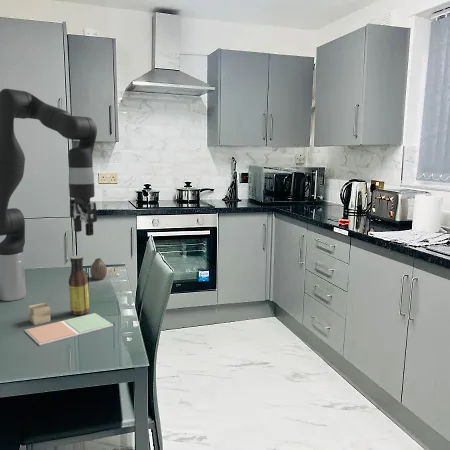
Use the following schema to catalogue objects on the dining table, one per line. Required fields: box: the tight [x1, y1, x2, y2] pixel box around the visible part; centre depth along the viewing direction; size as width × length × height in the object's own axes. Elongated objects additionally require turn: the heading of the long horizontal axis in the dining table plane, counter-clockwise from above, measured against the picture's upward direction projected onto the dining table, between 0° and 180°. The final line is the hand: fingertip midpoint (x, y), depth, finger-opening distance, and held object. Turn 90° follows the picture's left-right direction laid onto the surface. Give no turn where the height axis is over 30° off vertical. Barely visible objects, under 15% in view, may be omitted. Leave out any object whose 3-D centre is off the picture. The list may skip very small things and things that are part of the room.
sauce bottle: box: [68, 255, 90, 316], centre depth 152 cm, size 7×6×20 cm
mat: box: [24, 312, 114, 346], centre depth 140 cm, size 13×23×1 cm, turn 131°
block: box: [28, 302, 51, 326], centre depth 145 cm, size 5×5×5 cm
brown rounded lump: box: [89, 257, 108, 281], centre depth 192 cm, size 7×7×9 cm
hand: (83, 233), depth 141 cm, fingers open, 8 cm apart
